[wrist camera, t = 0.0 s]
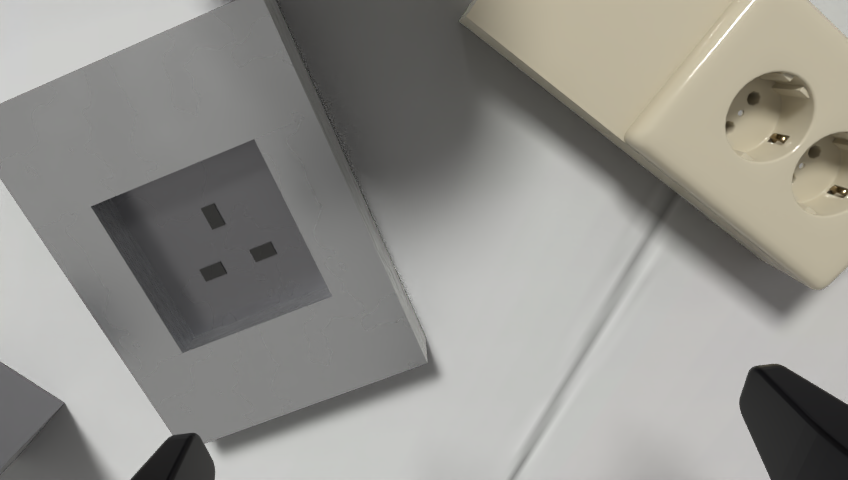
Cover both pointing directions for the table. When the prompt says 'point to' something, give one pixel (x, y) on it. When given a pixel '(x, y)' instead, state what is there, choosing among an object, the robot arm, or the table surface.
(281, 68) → the socket plate
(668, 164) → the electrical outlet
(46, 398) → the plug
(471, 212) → the table surface
